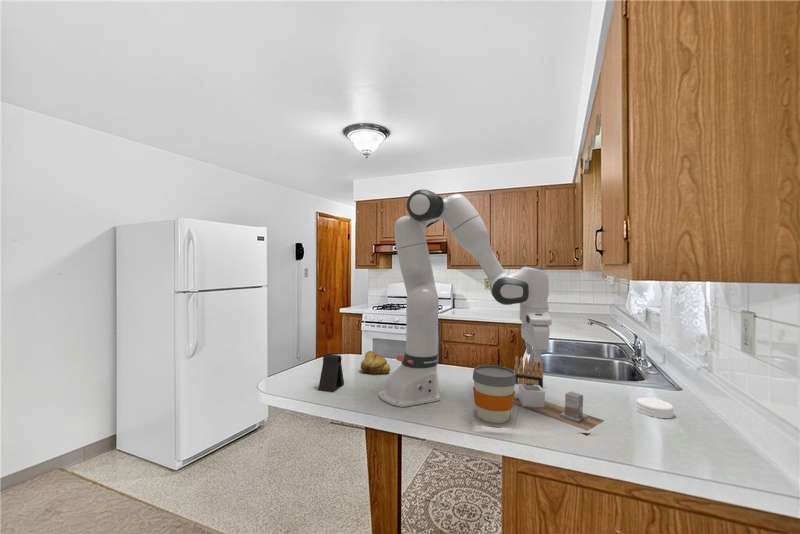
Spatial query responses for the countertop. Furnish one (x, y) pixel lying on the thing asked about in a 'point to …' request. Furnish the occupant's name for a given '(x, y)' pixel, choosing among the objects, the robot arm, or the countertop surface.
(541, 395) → the white block
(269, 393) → the countertop surface
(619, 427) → the countertop surface
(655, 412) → the coaster
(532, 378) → the ammunition clip
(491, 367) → the reusable coffee cup
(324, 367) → the black tent stand
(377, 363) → the bread roll
